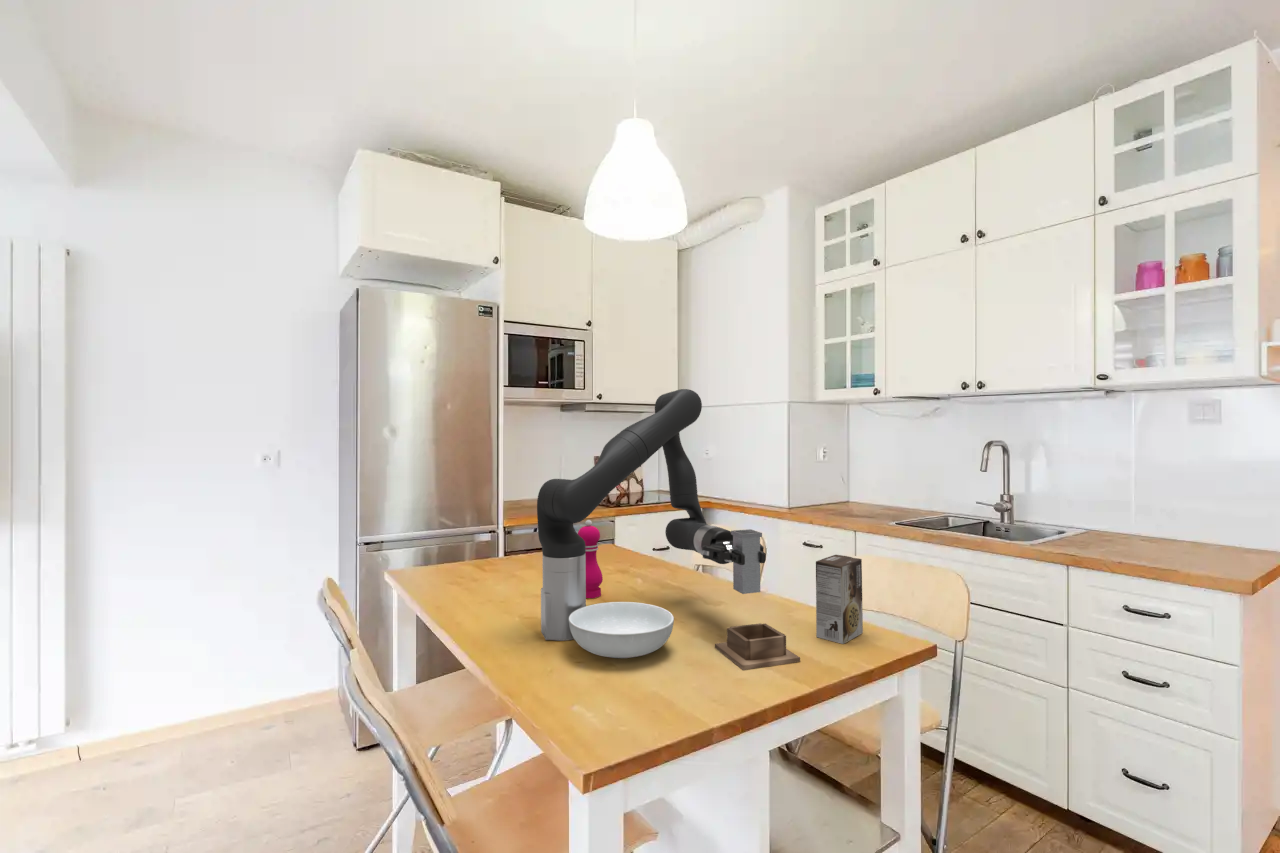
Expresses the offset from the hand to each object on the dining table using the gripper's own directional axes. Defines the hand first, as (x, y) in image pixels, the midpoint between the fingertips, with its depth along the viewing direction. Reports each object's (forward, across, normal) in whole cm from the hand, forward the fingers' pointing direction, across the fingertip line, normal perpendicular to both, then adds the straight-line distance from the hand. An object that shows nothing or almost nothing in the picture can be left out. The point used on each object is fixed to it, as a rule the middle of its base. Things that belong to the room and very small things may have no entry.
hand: (753, 558), depth 122 cm
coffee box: (-1, +21, +18) cm, 28 cm away
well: (+3, -1, +18) cm, 18 cm away
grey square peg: (-3, 0, +7) cm, 8 cm away
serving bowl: (-8, -25, +18) cm, 32 cm away
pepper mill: (-49, -21, +18) cm, 57 cm away
